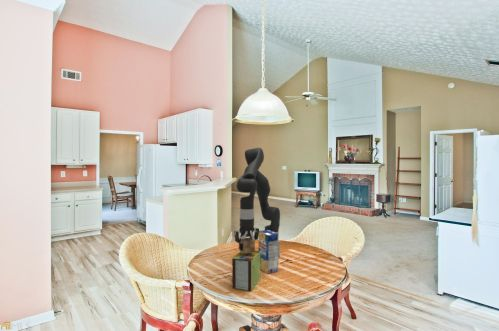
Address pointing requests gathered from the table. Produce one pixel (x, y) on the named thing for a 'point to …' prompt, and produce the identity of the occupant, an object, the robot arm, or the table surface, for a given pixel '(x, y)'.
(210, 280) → the table surface
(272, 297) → the table surface
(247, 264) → the protein box
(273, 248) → the beverage box
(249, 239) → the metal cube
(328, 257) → the table surface
